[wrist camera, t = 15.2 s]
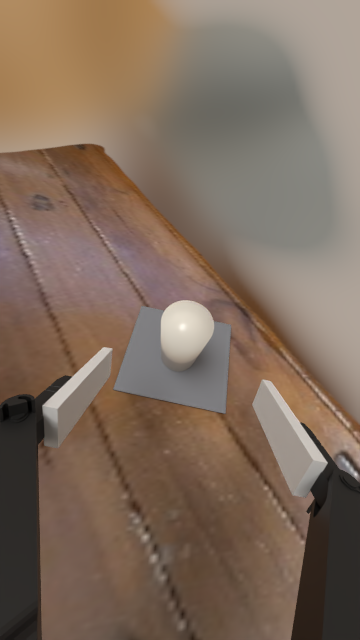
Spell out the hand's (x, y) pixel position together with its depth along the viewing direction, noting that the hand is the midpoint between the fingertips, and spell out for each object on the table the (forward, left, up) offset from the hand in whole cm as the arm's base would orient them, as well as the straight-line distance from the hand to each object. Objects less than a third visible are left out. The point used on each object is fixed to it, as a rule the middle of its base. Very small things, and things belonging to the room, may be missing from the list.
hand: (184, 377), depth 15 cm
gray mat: (-1, +5, -12) cm, 13 cm away
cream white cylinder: (-1, +5, -11) cm, 13 cm away
